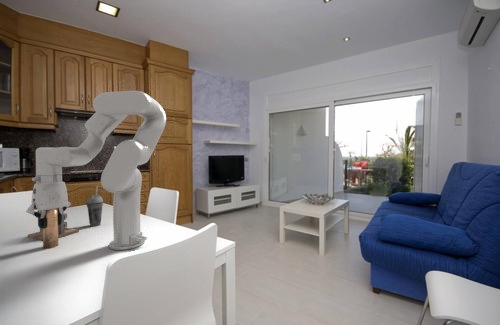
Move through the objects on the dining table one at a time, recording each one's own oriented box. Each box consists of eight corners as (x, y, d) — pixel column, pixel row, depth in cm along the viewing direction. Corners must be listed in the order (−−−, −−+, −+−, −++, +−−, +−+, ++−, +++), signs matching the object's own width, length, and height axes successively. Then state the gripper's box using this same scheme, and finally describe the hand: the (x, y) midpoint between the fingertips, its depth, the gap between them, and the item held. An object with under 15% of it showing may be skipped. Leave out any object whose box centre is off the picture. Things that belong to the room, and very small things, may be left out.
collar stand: (78, 232, 105) (78, 213, 105) (48, 241, 94) (48, 220, 94) (58, 228, 110) (58, 211, 110) (27, 236, 99) (27, 217, 99)
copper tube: (61, 244, 90) (60, 199, 90) (47, 249, 86) (46, 202, 85) (53, 243, 92) (53, 199, 91) (40, 247, 88) (39, 201, 87)
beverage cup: (83, 226, 114) (82, 186, 114) (98, 222, 121) (98, 184, 120) (91, 228, 111) (90, 187, 110) (106, 224, 117) (106, 185, 117)
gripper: (28, 182, 79) (29, 234, 80) (79, 177, 95) (79, 221, 95) (15, 181, 82) (16, 231, 82) (66, 177, 97) (67, 219, 98)
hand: (50, 225), depth 89 cm, fingers closed on copper tube, 4 cm apart
